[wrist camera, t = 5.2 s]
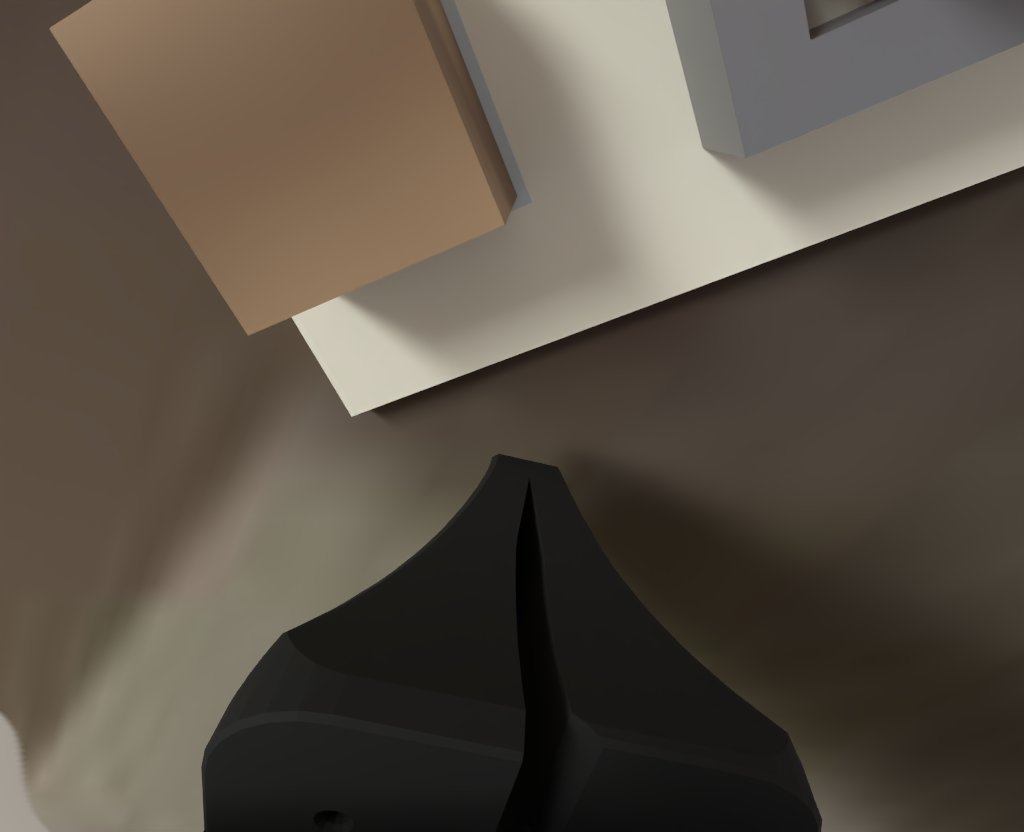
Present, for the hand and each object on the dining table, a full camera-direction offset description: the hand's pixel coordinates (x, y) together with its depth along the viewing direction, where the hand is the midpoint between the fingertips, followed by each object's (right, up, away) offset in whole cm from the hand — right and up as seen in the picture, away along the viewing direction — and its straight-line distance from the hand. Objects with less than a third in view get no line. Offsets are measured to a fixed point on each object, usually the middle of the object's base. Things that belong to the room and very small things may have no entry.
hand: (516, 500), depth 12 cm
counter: (-3, +7, -2) cm, 7 cm away
